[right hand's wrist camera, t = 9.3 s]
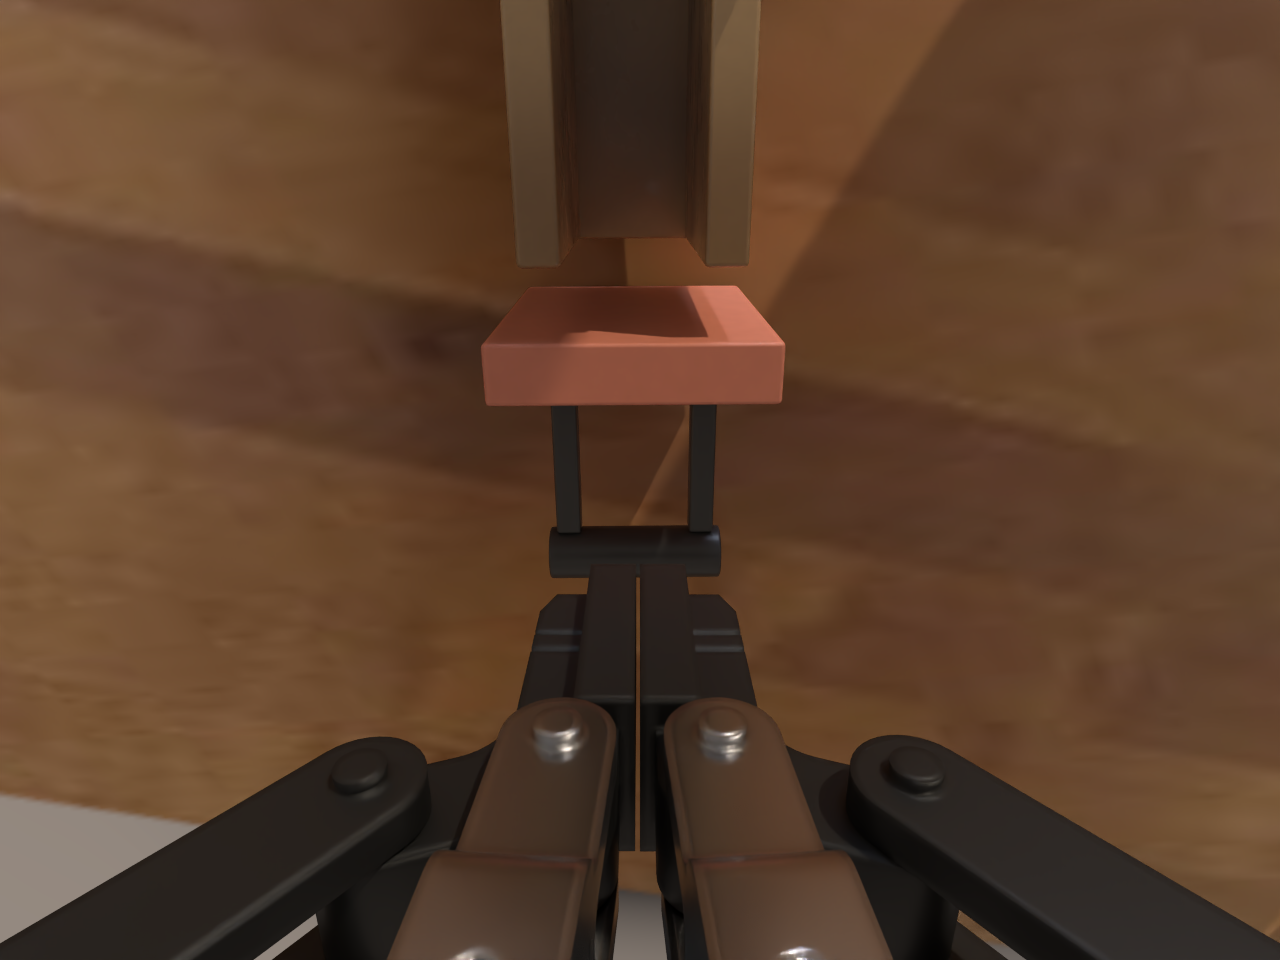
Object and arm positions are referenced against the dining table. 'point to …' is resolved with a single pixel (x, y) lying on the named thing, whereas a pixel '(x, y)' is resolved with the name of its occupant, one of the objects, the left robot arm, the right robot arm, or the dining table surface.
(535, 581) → the dining table surface
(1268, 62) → the dining table surface
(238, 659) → the dining table surface
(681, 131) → the drawer
